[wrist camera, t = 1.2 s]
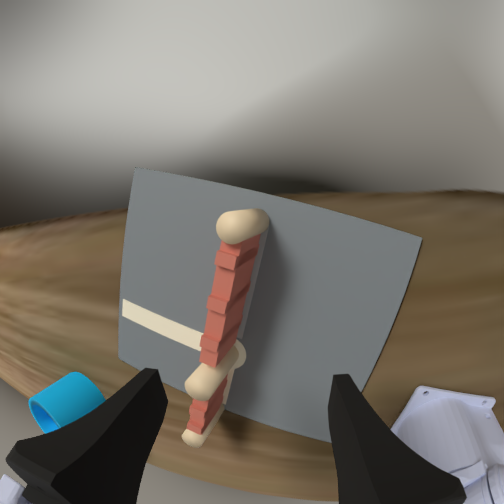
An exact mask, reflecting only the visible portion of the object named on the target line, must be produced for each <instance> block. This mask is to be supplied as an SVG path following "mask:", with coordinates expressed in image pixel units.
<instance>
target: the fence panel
mask: <svg viewBox="0 0 504 504" xmlns="http://www.w3.org/2000/svg"><path fill="white" fill-rule="evenodd" d="M268 226H269V217H268V215H267V213H266V212H265V211H264V210H262V209H259V208H254V209H245V210H237V211H228V212H225V213H223V214H222V215H221V216H220V217H219V219H218V221H217V224H216V231H217V234H218V236H219V238H220V239H221V245H220V250H218V251H217V253H216V258H215V263H214V264H215V265H217V266H216V271H215V276H214V281H213V286H212V292H211V295H209V296H208V300H207V306H206V308H207V309H208V313H207V319H206V324H205V330H204V334H203V335H202V336H201V340H200V347H201V353H200V359H199V362H201V363H204V364H206V365H209V366H211V367H214V368H216V366H217V365H218V364H219V363H220V361H221V360H222V359H223V358H224V356H225V355H226V354H227V353H228V351H229V350H230V349H231V348H232V346H233V345H234V344H235V342H236V338H237V334H238V329H239V326H240V325H241V322H242V318H243V315H242V312H243V308H244V304H245V300H246V295H247V292H249V288H250V284H251V281H250V278H251V274H252V270H253V265H254V261H255V257H256V256H257V254H258V249H259V245H260V244H259V239H260V235H261V233H263V232H264V231H266V230H267V228H268Z"/></svg>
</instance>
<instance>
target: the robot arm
mask: <svg viewBox="0 0 504 504" xmlns="http://www.w3.org/2000/svg"><path fill="white" fill-rule="evenodd" d="M426 391H428V392H427V393H424V392H426ZM495 401H496V400H495V399H494V398H493V397H487V396H479V395H473V394H466V393H460V392H454V391H448V390H443V389H437V388H432V387H427V386H419V387H417V388H416V389H415V391H414V393H413V395H412V396H411V398H410V400H409V401H408V403H407V405H406V406H405V408H404V409H403V411H402V413H401V414H400V416H399V417H398V419H397V420H396V422H395V423H394V425H393V426H392V428H391V429H389V428H388V426H387V425H386V424H385V423H384V422H383V421H382V420H381V418H380V417H379V416H378V415H377V414H376V412H375V411H374V410H373V408H372V407H371V406H370V404H369V403H368V402H367V400H366V399H365V398H364V396H363V395H362V393H361V392H360V390H359V389H358V387H357V386H356V384H355V383H354V381H353V379H352V378H351V376H350V375H349V374H334V375H333V379H332V385H331V391H330V397H329V402H328V421H329V431H330V436H331V442H332V447H333V453H334V458H335V463H336V469H337V476H338V493H339V504H504V433H503V431H502V429H501V427H500V425H499V423H498V421H497V419H496V417H495V415H494V413H493V411H492V407H493V405H494V404H495ZM167 404H168V399H167V396H166V393H165V390H164V387H163V384H162V381H161V377H160V374H159V371H158V369H152V368H144V369H143V370H142V371H141V372H139V373H138V374H137V375H136V376H135V377H134V378H133V379H131V380H130V381H129V382H128V383H127V384H126V385H125V386H123V387H122V388H121V389H120V390H119V391H117V392H116V393H115V394H114V395H113V396H111V397H110V398H109V399H107V400H106V401H105V402H103V403H102V404H101V405H99V406H98V407H97V408H95V409H94V410H92V411H91V412H89V413H88V414H86V415H84V416H83V417H81V418H79V419H77V420H76V421H74V422H72V423H70V424H67V425H65V426H63V427H61V428H59V429H57V430H54V431H52V432H49V433H46V434H43V435H40V436H36V437H32V438H28V439H24V440H19V441H17V443H16V444H15V446H14V447H13V448H12V450H11V451H10V453H9V454H8V456H7V457H6V462H7V464H8V465H9V466H10V467H11V468H12V469H13V470H14V471H15V472H16V473H17V474H18V475H19V476H20V477H21V478H22V479H23V480H24V481H25V482H26V483H27V484H28V485H27V486H26V488H25V487H23V486H22V485H21V484H19V483H18V482H16V481H15V480H14V479H12V478H11V477H9V476H8V475H6V474H4V475H3V477H2V478H1V480H0V504H136V502H137V496H138V491H139V487H140V483H141V478H142V475H143V471H144V467H145V464H146V461H147V459H148V456H149V454H150V451H151V449H152V447H153V444H154V442H155V439H156V437H157V435H158V432H159V430H160V427H161V425H162V422H163V419H164V416H165V412H166V408H167Z"/></svg>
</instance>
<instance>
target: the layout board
mask: <svg viewBox="0 0 504 504" xmlns="http://www.w3.org/2000/svg"><path fill="white" fill-rule="evenodd" d="M254 208H259V209H262V210H264V211H265V212H266V213H267V215H268V217H269V226H268V228H267V230H266V231H264V232H263V233H261V235H260V239H259V244H260V245H259V249H258V254H257V256H256V257H255V261H254V265H253V270H252V274H251V278H250V281H251V284H250V288H249V292H247V295H246V300H245V304H244V308H243V312H242V315H243V318H242V322H241V325H240V326H239V329H238V334H237V338H236V342H235V344H234V346H235V347H236V348H237V350H238V352H239V357H238V360H237V361H236V362H235V364H234V365H233V367H232V368H231V369H230V371H229V372H228V376H227V380H228V381H227V385H226V387H225V389H224V393H223V396H224V397H223V401H222V404H223V405H224V407H225V410H227V411H230V412H233V413H235V414H238V415H241V416H243V417H246V418H249V419H252V420H255V421H257V422H260V423H263V424H266V425H269V426H272V427H276V428H279V429H282V430H285V431H289V432H292V433H296V434H299V435H303V436H306V437H310V438H314V439H318V440H322V441H326V442H330V443H332V442H331V436H330V431H329V421H328V402H329V397H330V391H331V385H332V379H333V375H334V374H349V375H350V376H351V378H352V379H353V381H354V383H355V384H356V386H357V387H358V389H359V390H360V392H361V391H362V389H363V388H364V386H365V384H366V382H367V380H368V378H369V376H370V374H371V372H372V370H373V367H374V365H375V363H376V361H377V359H378V357H379V355H380V353H381V350H382V348H383V346H384V344H385V341H386V339H387V337H388V334H389V332H390V330H391V327H392V325H393V322H394V320H395V317H396V315H397V312H398V310H399V307H400V304H401V302H402V299H403V296H404V294H405V291H406V288H407V285H408V282H409V279H410V276H411V273H412V270H413V267H414V264H415V261H416V258H417V255H418V251H419V248H420V244H421V241H422V238H421V237H418V236H415V235H412V234H409V233H406V232H403V231H400V230H396V229H393V228H390V227H387V226H383V225H380V224H377V223H374V222H370V221H367V220H363V219H360V218H357V217H353V216H350V215H346V214H343V213H339V212H335V211H332V210H328V209H324V208H321V207H317V206H313V205H309V204H306V203H302V202H298V201H294V200H290V199H286V198H282V197H278V196H274V195H270V194H265V193H261V192H257V191H253V190H248V189H244V188H240V187H235V186H230V185H225V184H221V183H217V182H212V181H206V180H202V179H197V178H192V177H187V176H182V175H177V174H172V173H166V172H161V171H155V170H150V169H144V168H138V167H135V171H134V177H133V183H132V189H131V195H130V201H129V208H128V215H127V222H126V230H125V239H124V248H123V258H122V270H121V284H120V302H119V359H120V360H122V361H124V362H126V363H128V364H129V365H131V366H133V367H135V368H137V369H138V370H140V371H142V370H143V369H144V368H152V369H158V371H159V374H160V377H161V381H162V382H164V383H166V384H168V385H170V386H172V387H174V388H176V389H178V390H181V391H183V392H185V393H187V391H186V389H185V381H186V380H187V379H188V378H189V377H190V376H191V374H192V373H193V372H194V371H195V370H196V369H197V368H198V367H199V366H200V365H201V362H199V359H200V353H201V347H200V340H201V336H202V335H203V334H204V330H205V324H206V319H207V313H208V309H207V308H206V306H207V300H208V296H209V295H211V292H212V286H213V281H214V276H215V271H216V266H217V265H215V264H214V263H215V258H216V253H217V251H218V250H220V245H221V239H220V238H219V236H218V234H217V231H216V224H217V221H218V219H219V217H220V216H221V215H222V214H223V213H225V212H228V211H237V210H245V209H254ZM187 394H188V393H187Z"/></svg>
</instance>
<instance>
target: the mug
mask: <svg viewBox="0 0 504 504" xmlns="http://www.w3.org/2000/svg"><path fill="white" fill-rule="evenodd" d="M105 401H106V400H105V398H104V397H103V395H102V393H101V392H100V391H99V389H98V388H97V387H96V386H95V384H94V383H92V382H91V381H90V380H89V379H88V378H87V377H86V376H84V375H83V374H81V373H78V372H71V373H69V374H68V375H66V376H65V377H63V378H61V379H60V380H58V381H57V382H55V383H54V384H52V385H50V386H49V387H47V388H46V389H44V390H42V391H41V392H39V393H38V394H36V395H34V396H33V397H31V398H30V399H29V407H30V410H31V413H32V414H33V416H34V418H35V420H36V422H37V423H38V425H39V426H40V428H41V429H42V430H43V432H44V433H45V434H46V433H49V432H52V431H54V430H57V429H59V428H61V427H63V426H65V425H67V424H70V423H72V422H74V421H76V420H77V419H79V418H81V417H83V416H84V415H86V414H88V413H89V412H91V411H92V410H94V409H95V408H97V407H98V406H99V405H101V404H102V403H103V402H105Z"/></svg>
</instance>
